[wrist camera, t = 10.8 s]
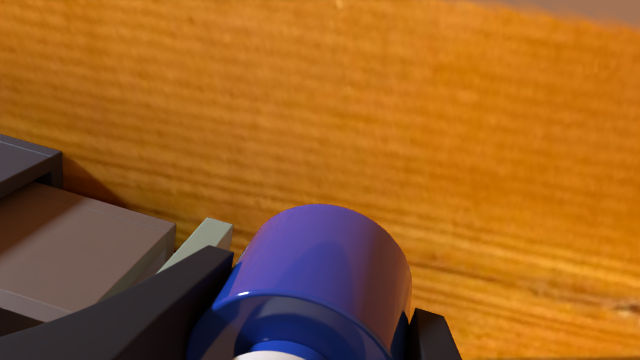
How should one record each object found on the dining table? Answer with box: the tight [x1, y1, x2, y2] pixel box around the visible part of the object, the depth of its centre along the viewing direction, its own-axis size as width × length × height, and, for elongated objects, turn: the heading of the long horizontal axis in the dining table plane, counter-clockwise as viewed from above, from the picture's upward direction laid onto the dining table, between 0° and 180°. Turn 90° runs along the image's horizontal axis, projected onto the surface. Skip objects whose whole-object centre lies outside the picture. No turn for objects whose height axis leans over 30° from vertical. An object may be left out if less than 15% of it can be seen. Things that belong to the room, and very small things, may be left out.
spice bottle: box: [186, 204, 412, 360], centre depth 10 cm, size 4×4×5 cm
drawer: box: [0, 181, 233, 337], centre depth 21 cm, size 17×12×7 cm
